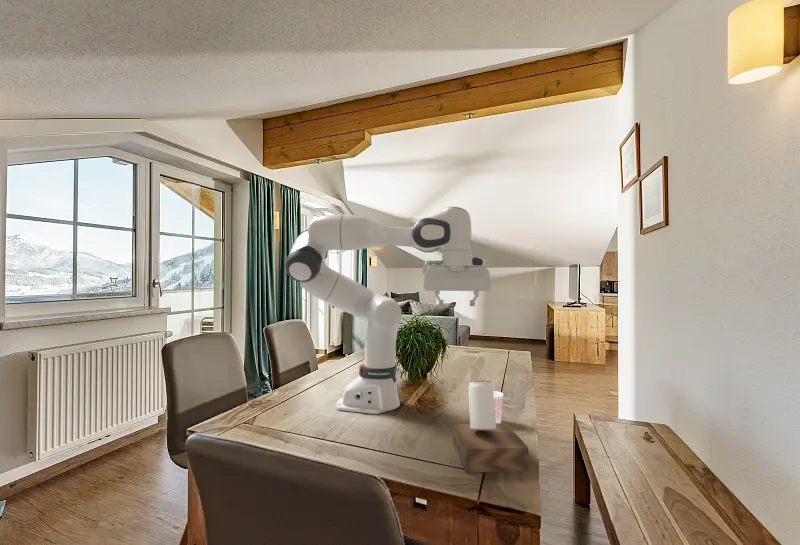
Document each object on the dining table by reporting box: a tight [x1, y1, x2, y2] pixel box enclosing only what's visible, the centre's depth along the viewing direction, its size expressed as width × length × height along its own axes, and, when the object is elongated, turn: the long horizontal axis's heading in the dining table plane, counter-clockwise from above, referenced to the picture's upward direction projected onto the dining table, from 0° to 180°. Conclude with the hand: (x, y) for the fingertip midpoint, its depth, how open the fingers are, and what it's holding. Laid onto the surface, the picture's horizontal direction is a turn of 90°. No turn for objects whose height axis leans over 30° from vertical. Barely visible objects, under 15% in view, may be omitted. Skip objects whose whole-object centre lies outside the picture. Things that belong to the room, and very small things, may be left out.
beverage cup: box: [492, 377, 504, 423], centre depth 121 cm, size 6×6×14 cm
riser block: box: [452, 422, 529, 474], centre depth 98 cm, size 15×15×6 cm
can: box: [467, 380, 496, 430], centre depth 100 cm, size 6×6×12 cm
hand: (456, 305), depth 116 cm, fingers open, 8 cm apart
